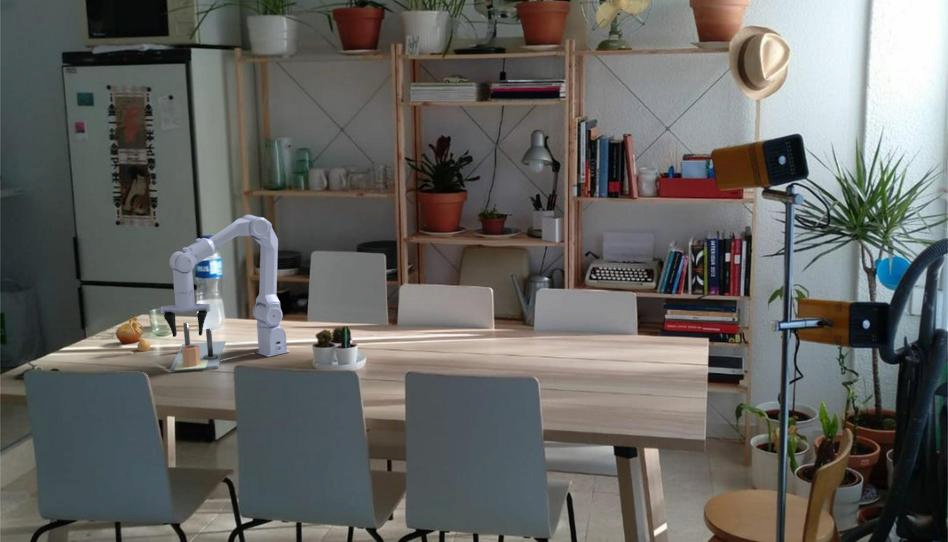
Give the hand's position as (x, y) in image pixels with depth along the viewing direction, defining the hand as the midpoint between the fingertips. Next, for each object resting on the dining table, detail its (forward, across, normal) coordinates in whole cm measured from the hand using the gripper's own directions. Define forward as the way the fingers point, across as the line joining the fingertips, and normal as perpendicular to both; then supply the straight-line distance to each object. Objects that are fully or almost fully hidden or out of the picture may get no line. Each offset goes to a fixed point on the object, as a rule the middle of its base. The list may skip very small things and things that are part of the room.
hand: (187, 335), depth 309 cm
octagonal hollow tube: (+9, -1, +1) cm, 9 cm away
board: (+10, -1, -11) cm, 15 cm away
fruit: (+10, +26, -33) cm, 43 cm away
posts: (+10, -1, -11) cm, 15 cm away
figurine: (+10, +19, -20) cm, 30 cm away
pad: (+10, -1, +1) cm, 10 cm away
